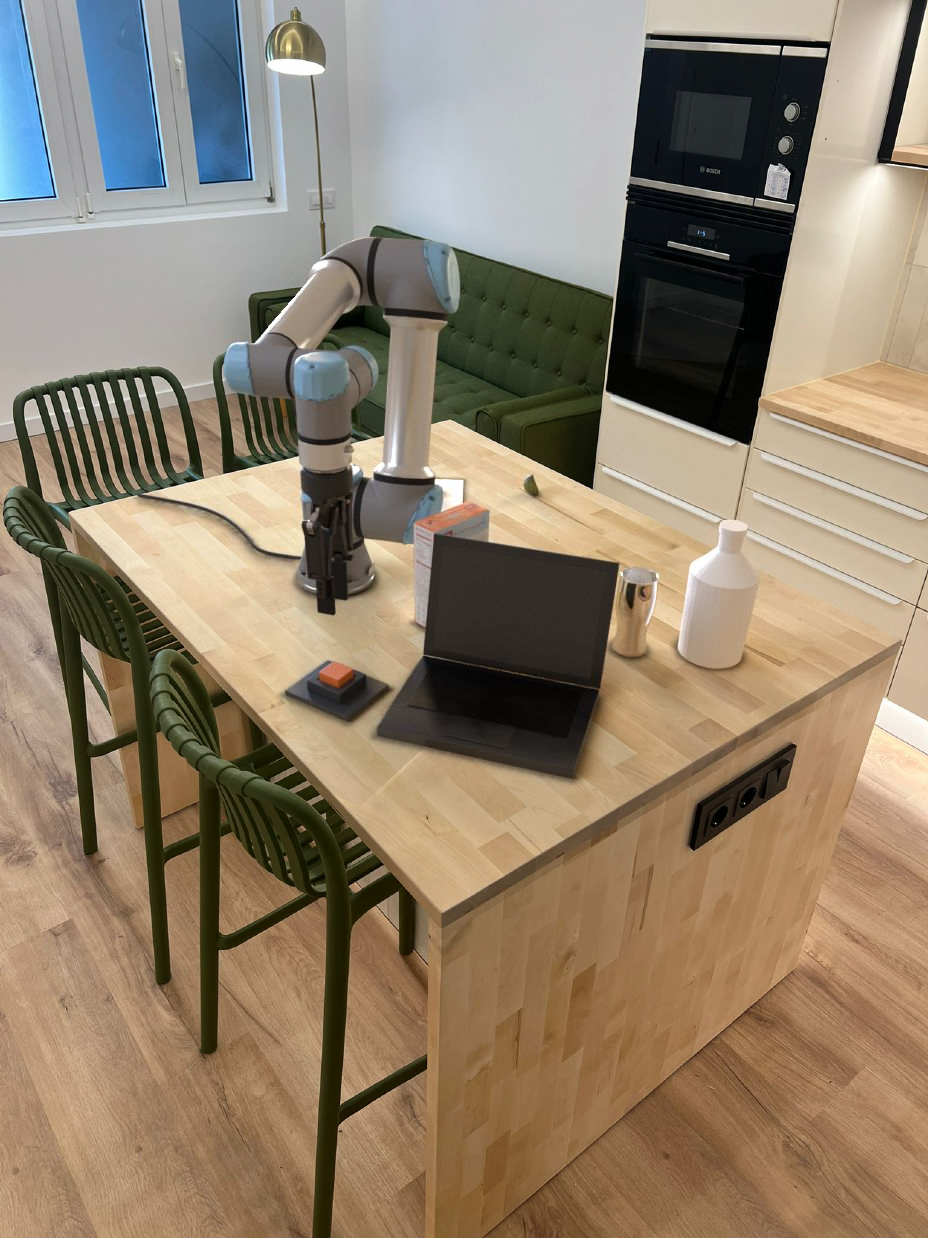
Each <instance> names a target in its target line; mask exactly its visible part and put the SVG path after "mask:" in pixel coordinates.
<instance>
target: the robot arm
mask: <svg viewBox="0 0 928 1238" xmlns="http://www.w3.org/2000/svg"><path fill="white" fill-rule="evenodd" d="M457 259H458V258H457V256H456V253H455V251H454V249H453V248H452V247H451V245H449V244H447V243H445V242H441V241H434V240H429V239H412V238H411V239H410V238H393V237H389V238H388V237H380V236H365V237H359V238H356V239H353V240H349V241H347V242H345V243H343V244H341V245H339V246H336V247H335V248H333V249H331V250H330V251H329V252H327V253H326V254H324V255H323V256H322V257H321V258H320V259H319V260H317V262H315V264H314V265H313V266H312V267H311V269H310V270H309V272H308V275H307V283H305V285H304V286H303V287H302V288H301V289H300V291H298V293H297V294H296V295H295V297H294V298H292V300H291V301H290V302H289V303H288V305H287V306H286V307H285V308H284V309H283V310H282V311H281V313H280V314H279V315H278V316H277V317H276V318H275V319H274V320H273V321H272V323H271V324H270V325H269V326H268V328H267V329H266V330H265V331H264V332H263V334H261V336H260V337H259V338H258V339H257V340H256V341H255V343H253V342H252V343H251V342H249V341H244V342H233V343H232V344H231V345H230V346H229V347H228V348H227V350H226V352H225V355H224V360H223V374H224V378H225V379H224V380H225V383H226V385H227V387H228V388H229V389H230V390H231V391H232V392H234V393H236V394H242V395H249V396H252V397H264V398H274V399H275V398H276V399H288V400H295V401H294V402H295V413H296V423H297V425H296V426H297V444H298V446H297V447H298V462H299V463H298V464H299V465H300V468H299V475H300V476H299V477H300V488H301V489H300V490H301V496H300V501H301V509H302V521H301V529H302V530H301V531H302V533H303V538H304V547H303V551H302V552H301V553H302V554H301V555H292V554H285V553H280V552H279V553H278V552H272V551H268V550H265V549H263V548H260V546H258V545H256V544H255V542H254V540H253V539H252V538H251V536H249V535H248V534H247V533H246V532H245V530H243V529H242V528H241V527H240V526H239V525H238V524H237V523H235V522H234V521H233V520H232V519H230V518H228V517H227V516H225V515H223V514H222V513H220V512H218V511H215V510H213V509H210V508H208V507H205V506H202V505H198V504H195V503H191V502H186V501H182V500H176V499H171V498H166V497H161V496H155V495H151V494H150V495H149V494H144V493H137V494H136V496H137V497H138V498H142V499H149V500H154V501H160V502H165V503H170V504H171V503H172V504H174V505H175V504H176V505H182V506H186V507H190V508H194V509H197V510H200V511H204V512H207V513H209V514H212V515H214V516H216V517H218V518H220V519H222V520H224V521H225V522H227V523H228V524H230V525H231V526H232V527H234V528H235V529H236V530H237V531H238V532H239V533H240V534H241V536H243V537H244V538H245V539H246V540H247V541H248V543H249V544H250V546H251V548H253V549H254V550H255V551H257V552H258V553H261V554H263V555H266V556H270V557H275V558H281V559H289V560H297V561H299V564H298V567H297V582H298V584H299V586H300V587H301V588H302V589H303V590H304V591H307V592H308V593H311V594H314V595H316V607H317V613H318V614H322V615H329V616H335V615H336V614H337V610H336V600H340V601H345V602H347V601H348V600H349V596H352V595H355V594H358V593H361V592H363V591H365V590H366V589H369V587H370V586H372V584H373V583H374V581H375V569H376V562H373V561H372V559H371V556H370V554H369V551H368V549H367V545H366V543H365V539H366V540H375V541H380V542H381V541H382V542H389V543H397V544H402V545H404V546H406V545H414V522H416V521H419V520H421V519H424V518H427V517H429V516H432V515H435V514H437V513H440V512H441V509H442V504H443V488H442V487H441V486H439V485H438V484H436V485H435V479H436V473H435V472H434V471H433V470H432V468H431V467H430V466H429V460H430V459H429V458H430V445H431V444H430V443H431V433H432V432H431V430H432V419H433V407H434V406H433V405H434V395H435V394H434V393H435V379H436V367H437V355H438V354H437V353H438V341H439V333H440V331H441V330H442V329H443V328H444V327H446V326H447V325H448V321H449V320H448V319H449V314H451V315H452V314H454V313H456V312H457V311H458V309H459V304H460V298H461V280H460V279H461V278H460V270H459V269H460V268H459V264H458V260H457ZM358 306H371V307H378V308H379V307H380V308H383V312H382V318H383V320H384V321H385V322H386V323H387V324H388V326H389V328H390V338H389V350H388V351H389V352H388V365H387V366H388V368H387V369H388V370H387V385H386V397H385V398H386V399H385V415H384V418H385V419H384V432H383V444H382V445H383V447H382V461H381V462H380V463H379V464H378V465H377V466H376V467H375V468H374V469H373V476H372V477H367V476H364V472H363V469H362V468H361V467H360V466H359V465H356V464H355V463H352V462H353V455H352V454H353V453H354V452H355V447H354V446H353V445H352V410H353V409H354V408H355V407H356V406H357V405H358V404H359V403H361V402H362V401H363V400H365V399H367V397H368V396H369V395H370V394H371V392H373V391H372V390H373V389H374V387H375V386H376V385H377V382H378V380H379V374H380V372H379V366H378V362H377V360H376V358H375V357H374V355H372V353H371V352H370V351H369V350H367V349H366V348H364V347H362V346H359V345H348V346H344V347H341V348H339V349H337V350H326V349H325V350H324V349H317V348H318V346H319V345H320V343H321V342H322V341H323V340H324V338H325V337H326V336H327V334H328V333H329V332H330V331H331V329H333V327H334V325H335V324H336V323H337V321H338V320H339V319H340V317H341V316H342V315H343V314H347V313H349V312H351V311H353V309H355V307H358Z"/></svg>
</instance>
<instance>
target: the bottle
mask: <svg viewBox="0 0 928 1238" xmlns="http://www.w3.org/2000/svg"><path fill="white" fill-rule="evenodd" d="M718 527H719V528H718V532H719V537H718V543H717V546H716V547H715V548H713V549H712V550H710V551H709V552H708V553H706V554H704V555H703V556H701V557H699V558H697V559H695V560H694V561H692V562H691V563H690V565H689V569H688V570H689V571H688V576H687V583H686V584H687V585H686V591H685V596H684V597H685V598H684V603H683V609H682V610H683V611H682V616H681V617H682V618H681V624H680V630H679V637H678V643H677V650H678V652H679V654H680V655H681V657H683V658H684V659H685V660H686V661H687V662H689V663H692V664H694V665H696V666H700V667H703V668H708V669H719V670H721V669H728V668H731V667H734V666H736V665H738V664H739V663H740V662H741V661H742V657H743V654H744V649H745V646H746V641H747V637H748V633H749V628H750V623H751V620H752V615H753V611H754V606H755V603H756V598H757V594H758V590H759V586H760V581H761V574H760V571H759V570H758V569H757V568H756V567H755V566H754V565H753V564H752V563H751V562H750V560H749V559H748V558H747V556H746V555H745V553H744V551H742V549H743V543H744V541H745V537H746V536H747V534H748V529H749V526H748V525H747V523H745V522H743V521H741V520H737V519H736V520H735V519H723V520H722V521H720V523H719V526H718Z"/></svg>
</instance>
